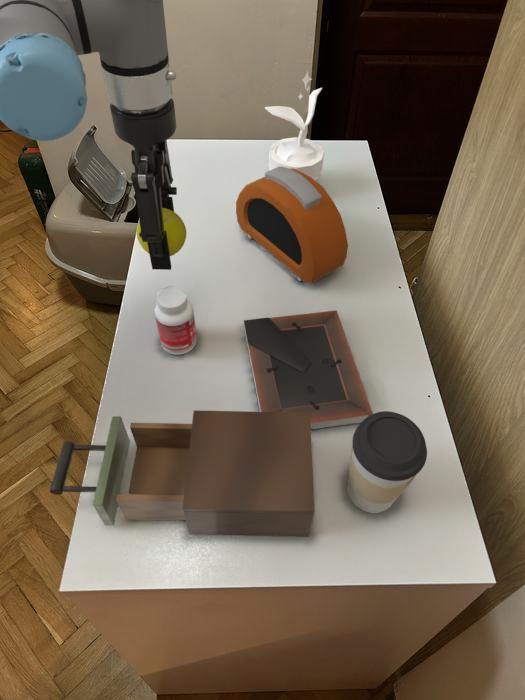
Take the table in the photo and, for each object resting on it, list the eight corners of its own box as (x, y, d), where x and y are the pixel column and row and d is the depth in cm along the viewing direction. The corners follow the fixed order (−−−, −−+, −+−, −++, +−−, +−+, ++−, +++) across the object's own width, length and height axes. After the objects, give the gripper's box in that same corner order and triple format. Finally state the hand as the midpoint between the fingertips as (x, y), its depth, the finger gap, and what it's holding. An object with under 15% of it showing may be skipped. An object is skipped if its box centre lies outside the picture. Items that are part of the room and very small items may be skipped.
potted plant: (317, 176, 122) (329, 63, 102) (321, 207, 115) (335, 91, 95) (262, 176, 122) (264, 62, 102) (263, 207, 114) (265, 91, 95)
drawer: (53, 524, 70) (36, 503, 64) (75, 439, 78) (62, 414, 72) (215, 528, 70) (212, 507, 64) (221, 442, 78) (219, 418, 72)
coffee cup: (405, 466, 77) (432, 411, 65) (402, 527, 71) (432, 478, 59) (343, 454, 78) (359, 398, 66) (335, 513, 72) (351, 462, 60)
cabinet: (189, 534, 70) (182, 508, 63) (198, 441, 79) (193, 410, 72) (308, 537, 70) (314, 511, 63) (305, 444, 79) (310, 412, 72)
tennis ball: (131, 254, 80) (123, 215, 75) (163, 230, 84) (157, 192, 78) (165, 273, 78) (159, 235, 72) (197, 248, 81) (193, 210, 76)
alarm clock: (234, 230, 110) (232, 156, 96) (268, 213, 113) (270, 140, 100) (310, 294, 98) (319, 220, 85) (345, 273, 102) (359, 200, 89)
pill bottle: (199, 352, 89) (194, 307, 81) (163, 359, 88) (153, 314, 80) (194, 325, 93) (188, 280, 84) (159, 331, 92) (149, 285, 83)
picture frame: (243, 329, 93) (264, 437, 79) (243, 319, 91) (264, 428, 77) (335, 318, 95) (370, 422, 81) (337, 309, 93) (373, 413, 79)
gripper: (163, 146, 56) (183, 298, 74) (181, 63, 69) (195, 210, 87) (92, 144, 56) (129, 297, 74) (123, 61, 69) (149, 209, 87)
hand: (164, 249), depth 80 cm, fingers closed on tennis ball, 7 cm apart
